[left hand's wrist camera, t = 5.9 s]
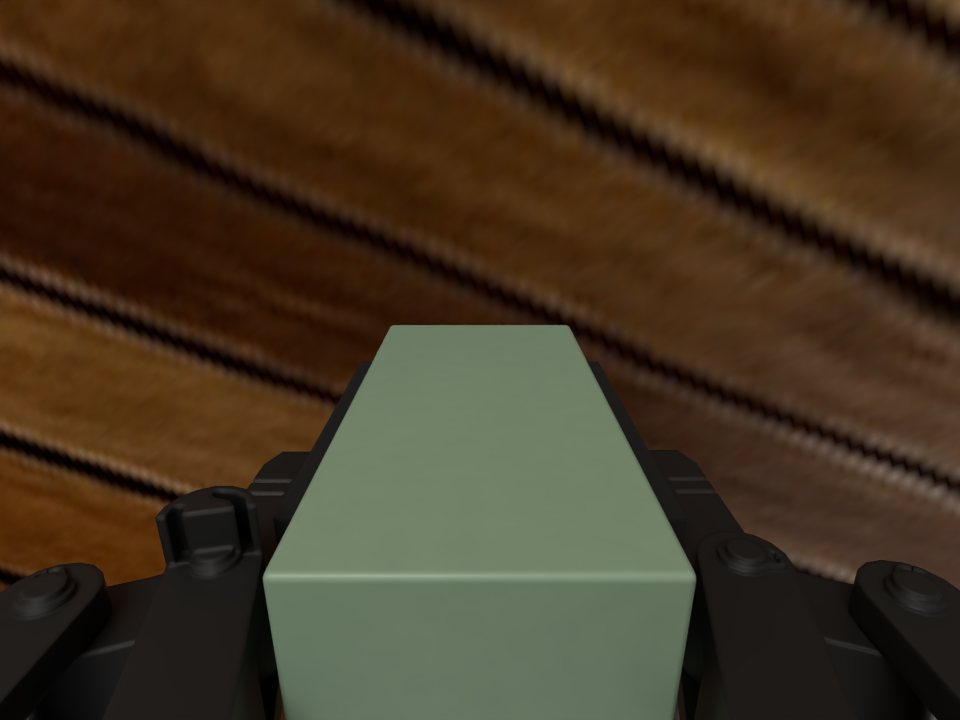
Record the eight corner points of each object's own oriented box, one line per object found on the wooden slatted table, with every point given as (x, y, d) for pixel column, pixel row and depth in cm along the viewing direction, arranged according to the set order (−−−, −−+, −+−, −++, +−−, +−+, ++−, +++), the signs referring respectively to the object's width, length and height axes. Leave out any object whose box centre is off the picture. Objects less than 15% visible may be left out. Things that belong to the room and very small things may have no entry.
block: (569, 324, 14) (701, 575, 6) (560, 479, 16) (654, 858, 7) (390, 324, 14) (258, 576, 6) (398, 479, 16) (304, 858, 7)
